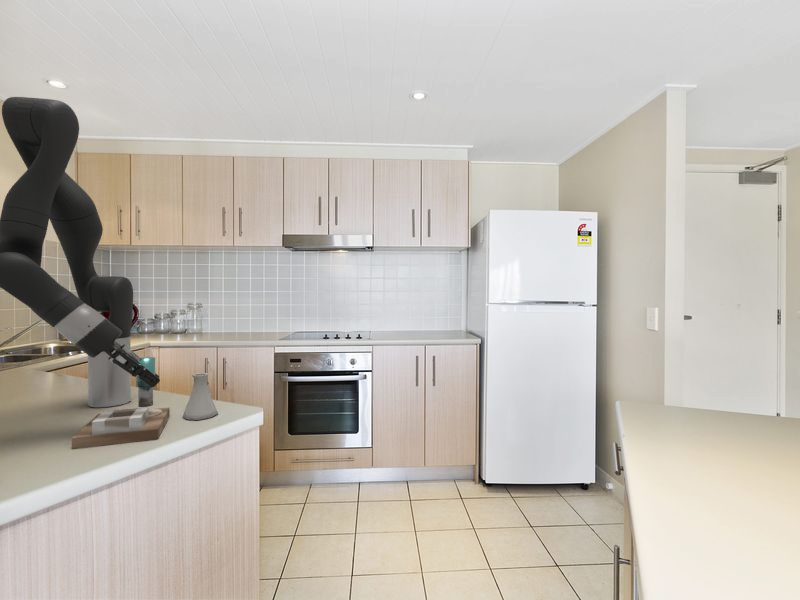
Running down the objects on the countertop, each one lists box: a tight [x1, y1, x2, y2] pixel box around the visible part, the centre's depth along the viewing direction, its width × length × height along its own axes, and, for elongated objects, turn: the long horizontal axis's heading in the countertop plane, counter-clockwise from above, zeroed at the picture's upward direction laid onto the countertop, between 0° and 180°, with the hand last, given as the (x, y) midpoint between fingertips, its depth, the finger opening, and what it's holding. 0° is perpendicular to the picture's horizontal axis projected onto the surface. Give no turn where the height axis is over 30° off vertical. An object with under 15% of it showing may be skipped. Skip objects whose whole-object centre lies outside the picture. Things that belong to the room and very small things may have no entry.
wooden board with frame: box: [71, 406, 171, 450], centre depth 88 cm, size 17×14×4 cm
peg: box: [135, 356, 156, 408], centre depth 93 cm, size 4×4×10 cm
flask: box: [182, 372, 219, 421], centre depth 99 cm, size 7×7×10 cm
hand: (156, 382), depth 94 cm, fingers closed on peg, 3 cm apart
